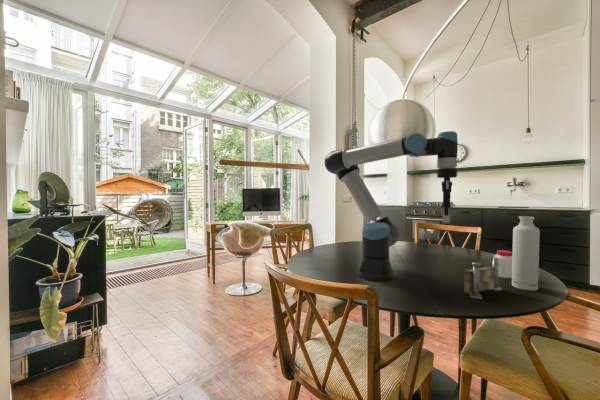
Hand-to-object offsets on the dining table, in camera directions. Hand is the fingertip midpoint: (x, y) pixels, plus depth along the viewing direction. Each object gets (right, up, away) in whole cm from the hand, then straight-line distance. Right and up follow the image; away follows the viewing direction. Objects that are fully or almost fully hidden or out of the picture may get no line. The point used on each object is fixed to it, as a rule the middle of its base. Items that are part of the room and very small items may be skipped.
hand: (446, 222), depth 117 cm
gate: (+4, -24, -15) cm, 29 cm away
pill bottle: (+29, -25, +4) cm, 38 cm away
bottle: (+26, -25, -10) cm, 37 cm away
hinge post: (+13, -25, -12) cm, 30 cm away
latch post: (0, -25, -20) cm, 32 cm away
